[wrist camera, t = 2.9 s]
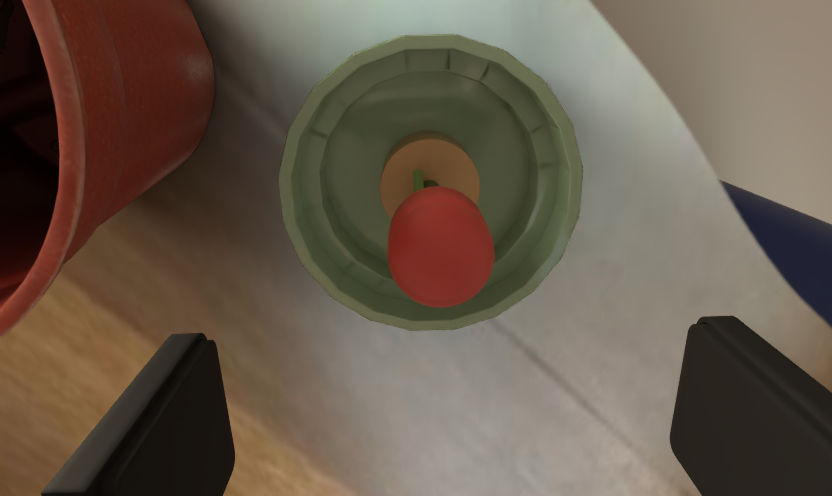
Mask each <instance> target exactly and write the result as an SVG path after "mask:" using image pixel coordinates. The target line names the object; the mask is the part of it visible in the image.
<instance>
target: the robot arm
mask: <svg viewBox="0 0 832 496" xmlns="http://www.w3.org/2000/svg"><path fill="white" fill-rule="evenodd" d="M670 444H671V448H672V451H673V453H674V455H675V456H676V458H677V459H678V461H679V462H680V464H681V465H682V467H683V468H684V470H685V471H686V473H687V474H688V476H689V477H690V478H691V480H692V481H693V483H694V484H695V486H696V487H697V489H698V490H699V492H700V493H701V495H702V496H832V393H831V392H830V391H829V390H827V389H826V388H825V387H824V386H822V385H821V384H820V383H819V382H817V381H816V380H815V379H814V378H812V377H811V376H810V375H808V374H807V373H806V372H805V371H803V370H802V369H801V368H800V367H798V366H797V365H796V364H795V363H793V362H792V361H791V360H789V359H788V358H787V357H786V356H784V355H783V354H782V353H781V352H779V351H778V350H777V349H776V348H774V347H773V346H772V345H770V344H769V343H768V342H767V341H765V340H764V339H763V338H762V337H760V336H759V335H758V334H757V333H755V332H754V331H753V330H752V329H750V328H749V327H748V326H746V325H745V324H744V323H743V322H741V321H740V320H739V319H738V318H736V317H734V316H710V317H701V318H700V319H699V320H698V321H697V323H696V324H693V325H691V326H690V328H689V330H688V335H687V340H686V346H685V352H684V357H683V363H682V369H681V375H680V380H679V386H678V392H677V397H676V403H675V409H674V414H673V420H672V426H671V432H670ZM234 463H235V449H234V443H233V438H232V432H231V426H230V421H229V415H228V409H227V403H226V398H225V392H224V386H223V381H222V375H221V369H220V363H219V358H218V352H217V347H216V344H215V342H214V341H213V340H207V338H206V336H205V335H204V334H203V333H189V334H172V335H170V336H169V337H168V338H167V340H166V341H165V342H164V343H163V345H162V346H161V347H160V348H159V349H158V351H157V352H156V353H155V354H154V356H153V357H152V358H151V359H150V360H149V362H148V363H147V364H146V365H145V367H144V368H143V369H142V370H141V371H140V373H139V374H138V375H137V376H136V378H135V379H134V380H133V381H132V382H131V384H130V385H129V386H128V387H127V389H126V390H125V391H124V392H123V393H122V395H121V396H120V397H119V398H118V400H117V401H116V402H115V403H114V404H113V406H112V407H111V408H110V409H109V411H108V412H107V413H106V414H105V415H104V417H103V418H102V419H101V420H100V422H99V423H98V424H97V425H96V426H95V428H94V429H93V430H92V431H91V433H90V434H89V435H88V436H87V437H86V439H85V440H84V441H83V442H82V444H81V445H80V446H79V447H78V448H77V450H76V451H75V452H74V453H73V455H72V456H71V457H70V458H69V459H68V461H67V462H66V463H65V464H64V466H63V467H62V468H61V469H60V470H59V472H58V473H57V474H56V475H55V477H54V478H53V479H52V480H51V481H50V483H49V484H48V485H47V486H46V488H45V489H44V490H43V491H42V492H41V495H42V496H223V494H224V491H225V489H226V486H227V484H228V481H229V479H230V476H231V474H232V471H233V468H234Z"/></svg>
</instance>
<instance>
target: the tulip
mask: <svg viewBox="0 0 832 496" xmlns="http://www.w3.org/2000/svg"><path fill="white" fill-rule="evenodd" d="M479 196H480V180H479V175H478V172H477V169H476V167H475V165H474V163H473V161H472V160H471V158H470V156H469V155H468V153H467V152H466V150H465V149H464V147H463V146H462V145H461V144H460V143H459V142H458V141H456V140H455V139H454V138H452V137H451V136H448V135H446V134H444V133H441V132H436V131H420V132H416V133H413V134H410V135H408V136H406V137H404V138H403V139H401V140H400V141H399V142H398V143H397V144H395V145H394V147H393V148H392V149H391V150H390V152H389V154H388V155H387V157H386V160H385V162H384V166H383V170H382V175H381V180H380V198H381V202H382V205H383V207H384V210H385V212H386V213H387V215H388V216H389V218H390V219H391V224H390V229H389V238H388V248H387V258H388V264H389V269H390V272H391V275H392V277H393V279H394V281H395V282H396V284H397V285H398V287H399V288H400V289H401V290H402V291H403V292H404V293H405V294H406V295H407V296H408V297H410V298H411V299H413V300H414V301H416V302H418V303H420V304H423V305H426V306H430V307H440V308H444V307H452V306H455V305H459V304H462V303H464V302H466V301H468V300H470V299H471V298H472V297H474V296H475V295H476V294H478V293H479V291H480V290H481V289H482V288H483V287H484V286H485V284H486V282H487V281H488V279H489V277H490V275H491V272H492V269H493V266H494V259H495V251H494V243H493V238H492V235H491V233H490V231H489V228H488V226H487V224H486V222H485V220H484V218H483V216H482V214H481V212H480V210H479V208H478V207H477V203H478V200H479Z"/></svg>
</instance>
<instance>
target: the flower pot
mask: <svg viewBox="0 0 832 496" xmlns="http://www.w3.org/2000/svg"><path fill="white" fill-rule="evenodd" d="M3 1H5V0H0V9H1V7H2V5H3ZM10 1H12V2H13V5H14V12H13V13H12V15H11V16H10V17H9V19H10V22H9V26H8V30H7V34H6V39H5V41H6V47H5V49H4V50H3V51H2V52H0V338H1V337H2V336H4V335H5V334H6V333H7V332H9V331H10V330H11V329H12V328H13V327H14V326H15V325H17V324H18V323H19V322H20V321H21V320H22V319H23V318H24V317H25V316H26V314H27V313H28V312H29V311H30V310H31V309H32V308H33V307H34V306H35V305H36V303H37V302H38V301H39V300H40V299H41V297H42V296H43V295H44V294H45V292H46V291H47V289H48V288H49V287H50V285H51V284H52V282H53V281H54V279H55V277H56V276H57V274H58V273H59V271H60V269H61V267H62V265H63V264H64V263H65V262H67V261H68V260H69V259H70V258H71V257H73V256H74V254H75V253H76V252H77V251H78V250H79V249H80V248H81V247H82V246H83V245H84V244H85V243H86V242H87V241H88V239H89V238H90V237H91V235H92V234H93V233H94V231H95V230H96V228H97V227H98V226H99V225H101V224H102V223H103V222H105V221H106V220H108V219H109V218H110V217H112V216H113V215H114V214H116V213H117V212H118V211H120V210H121V209H122V208H124V207H125V206H126V205H128V204H129V203H130V202H132V201H133V200H134V199H136V198H137V197H138V196H140V195H141V194H142V193H144V192H145V191H147V190H148V189H149V188H151V187H152V186H153V185H155V184H156V183H158V182H159V181H160V180H162V179H163V178H164V177H166V176H167V175H168V174H170V173H171V172H173V171H174V170H175V169H177V168H178V167H179V166H181V165H182V164H183V163H184V162H185V161H186V160H187V159H188V158H189V157H190V155H191V154H192V153H193V151H194V150H195V149H196V147H197V146H198V144H199V142H200V141H201V139H202V137H203V135H204V133H205V130H206V128H207V125H208V122H209V119H210V116H211V112H212V107H213V101H214V92H215V80H214V69H213V63H212V57H211V54H210V52H209V50H208V48H207V46H206V44H205V41H204V39H203V36H202V34H201V32H200V30H199V27H198V25H197V23H196V20H195V18H194V16H193V14H192V11H191V9H190V7H189V6H188V4H187V3H186V1H185V0H10ZM53 141H58V142H59V151H60V154H59V153H58V152H56V151H54V150H53V148H52V147H51V144H52V142H53Z"/></svg>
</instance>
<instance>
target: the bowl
mask: <svg viewBox="0 0 832 496" xmlns="http://www.w3.org/2000/svg"><path fill="white" fill-rule="evenodd" d="M420 131H436V132H441V133H444V134H446V135H448V136H451V137H452V138H454V139H455V140H456V141H458V142H459V143H460V144H461V145H462V146H463V147H464V149H465V150H466V152H467V153H468V155H469V156H470V158H471V160H472V161H473V163H474V165H475V167H476V169H477V172H478V175H479V180H480V196H479V200H478V203H477V207H478V208H479V210H480V212H481V214H482V216H483V218H484V220H485V222H486V224H487V226H488V228H489V231H490V233H491V235H492V238H493V243H494V251H495V259H494V266H493V269H492V272H491V275H490V277H489V279H488V281H487V282H486V284H485V286H484V287H483V288H482V289H481V290H480V291H479V293H478V294H476V295H475V296H474V297H472V298H471V299H470V300H468V301H466V302H464V303H462V304H459V305H455V306H452V307H444V308H440V307H430V306H426V305H423V304H420V303H418V302H416V301H414V300H413V299H411V298H410V297H408V296H407V295H406V294H405V293H404V292H403V291H402V290H401V289H400V288H399V287H398V285H397V284H396V282H395V281H394V279H393V277H392V275H391V272H390V269H389V264H388V258H387V248H388V238H389V229H390V224H391V219H390V218H389V216H388V215H387V213H386V212H385V210H384V207H383V205H382V202H381V198H380V180H381V175H382V170H383V166H384V162H385V160H386V157H387V155H388V154H389V152H390V150H391V149H392V148H393V147H394V145H395V144H397V143H398V142H399V141H400V140H401V139H403V138H404V137H406V136H408V135H410V134H413V133H416V132H420ZM582 178H583V166H582V162H581V158H580V154H579V149H578V145H577V141H576V137H575V133H574V129H573V125H572V123H571V121H570V119H569V117H568V116H567V114H566V113H565V111H564V110H563V108H562V107H561V105H560V104H559V102H558V100H557V99H556V97H555V96H554V94H553V93H552V91H551V90H550V88H549V86H548V85H547V83H546V82H544V80H543V79H542V78H540V77H539V76H538V75H536V74H535V73H534V72H532V71H531V70H530V69H529V68H527V67H526V66H525V65H523V64H522V63H521V62H520V61H518V60H517V59H516V58H514V57H513V56H512V55H510V54H509V53H508V52H507V51H504V50H503V49H500V48H497V47H494V46H490V45H487V44H484V43H481V42H478V41H475V40H472V39H469V38H466V37H463V36H460V35H457V34H456V35H455V34H436V35H404V36H399V37H397V38H394V39H391V40H389V41H386V42H384V43H381V44H378V45H376V46H373V47H370V48H368V49H365V50H362V51H360V52H357V53H355V54H354V55H351V56H350V57H349V58H348V59H347V60H346V61H344V62H343V63H342V64H341V65H340V66H338V67H337V68H336V69H335V70H334V71H332V72H331V73H330V74H329V75H328V76H326V77H325V78H324V79H323V80H322V81H320V82H319V83H318V84H317V85H316V86H315V87H314V88H313V89H312V91H311V92H310V94H309V96H308V97H307V99H306V101H305V102H304V104H303V106H302V107H301V109H300V111H299V112H298V114H297V116H296V117H295V119H294V121H293V122H292V124H291V126H290V127H289V129H288V132H287V137H286V142H285V146H284V151H283V155H282V160H281V165H280V169H279V174H278V183H279V191H280V200H281V209H282V218H283V223H284V226H285V229H286V231H287V233H288V235H289V237H290V239H291V242H292V244H293V246H294V248H295V250H296V253H297V255H298V257H299V259H300V261H301V263H302V264H303V266H304V267H305V268H306V270H307V271H308V272H309V273H310V274H311V275H312V276H313V277H314V278H315V279H316V281H317V282H318V283H319V284H320V285H321V286H322V287H323V288H324V289H325V291H326V292H327V293H328V294H329V295H330V296H331V297H332V298H334V299H335V300H337V301H339V302H340V303H342V304H344V305H345V306H347V307H349V308H350V309H352V310H354V311H355V312H357V313H359V314H360V315H362V316H364V317H365V318H367V319H369V320H371V321H375V322H379V323H383V324H387V325H390V326H394V327H398V328H402V329H406V330H410V331H411V330H412V331H421V330H454V329H458V328H461V327H464V326H467V325H471V324H474V323H477V322H480V321H483V320H486V319H490V318H493V317H495V316H498V315H499V314H501V313H502V312H504V311H505V310H507V309H508V308H510V307H511V306H513V305H514V304H516V303H517V302H519V301H520V300H522V299H523V298H525V297H526V296H528V295H529V294H531V293H532V292H533V291H534V290H535V289H536V288H537V287H538V286H539V284H540V283H541V282H542V281H543V280H544V278H545V277H546V276H547V275H548V274H549V272H550V271H551V270H552V269H553V268H554V266H555V265H556V264H557V263H558V262H559V260H560V259H561V257H562V255H563V253H564V251H565V248H566V246H567V244H568V241H569V239H570V236H571V234H572V232H573V229H574V227H575V224H576V222H577V220H578V217H579V216H578V215H579V212H580V201H581V189H582Z"/></svg>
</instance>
